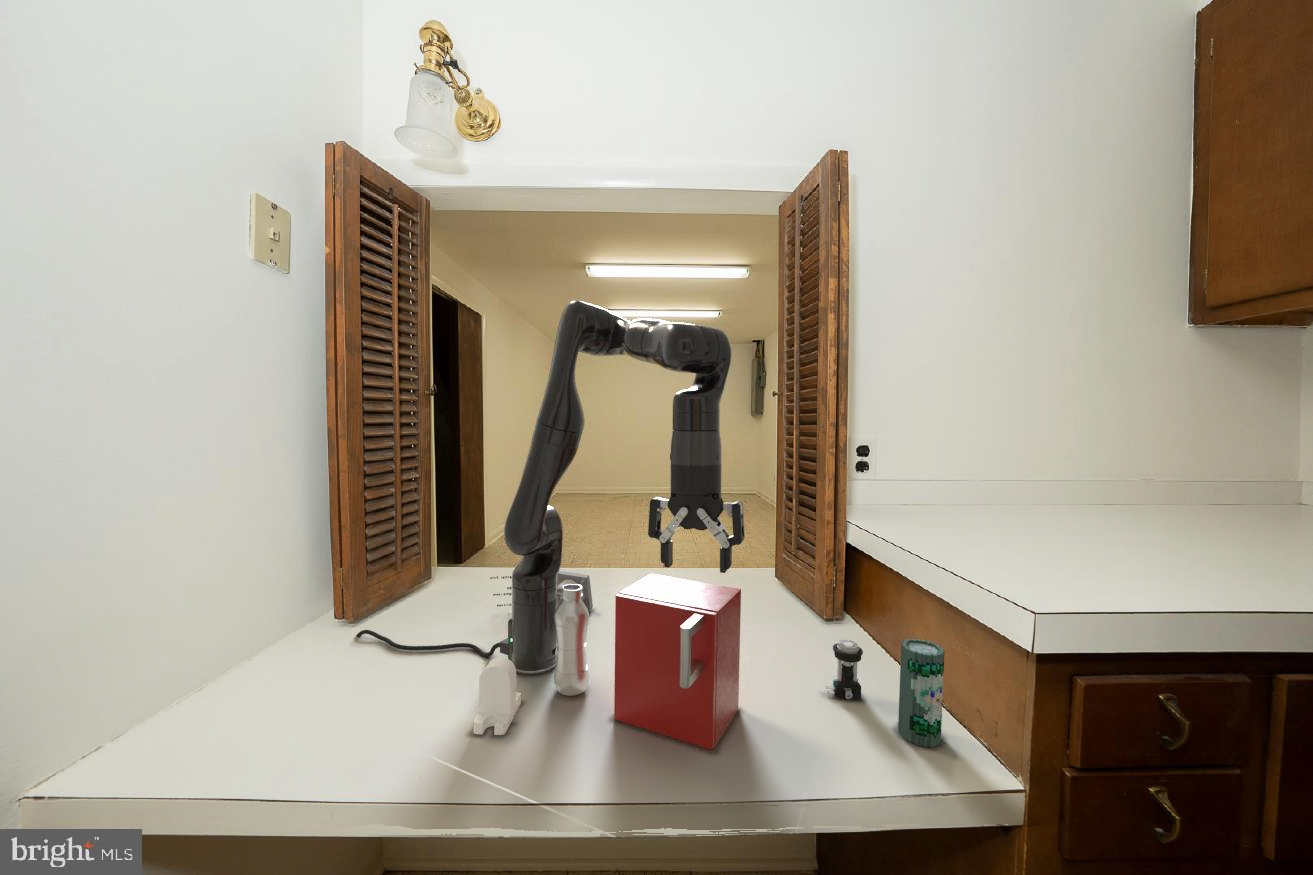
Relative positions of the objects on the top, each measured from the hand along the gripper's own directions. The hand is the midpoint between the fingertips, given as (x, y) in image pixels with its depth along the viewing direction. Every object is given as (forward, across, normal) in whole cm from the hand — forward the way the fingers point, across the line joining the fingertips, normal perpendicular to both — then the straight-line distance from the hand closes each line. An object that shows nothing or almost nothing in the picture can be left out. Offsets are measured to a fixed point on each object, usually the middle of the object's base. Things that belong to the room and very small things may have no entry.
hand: (695, 568), depth 79 cm
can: (+30, -33, -20) cm, 49 cm away
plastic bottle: (+30, +27, -12) cm, 42 cm away
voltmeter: (+29, +53, -44) cm, 75 cm away
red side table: (+30, +7, -2) cm, 30 cm away
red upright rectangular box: (+30, +6, -12) cm, 33 cm away
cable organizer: (+30, +35, 0) cm, 46 cm away
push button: (+30, -21, -28) cm, 47 cm away
